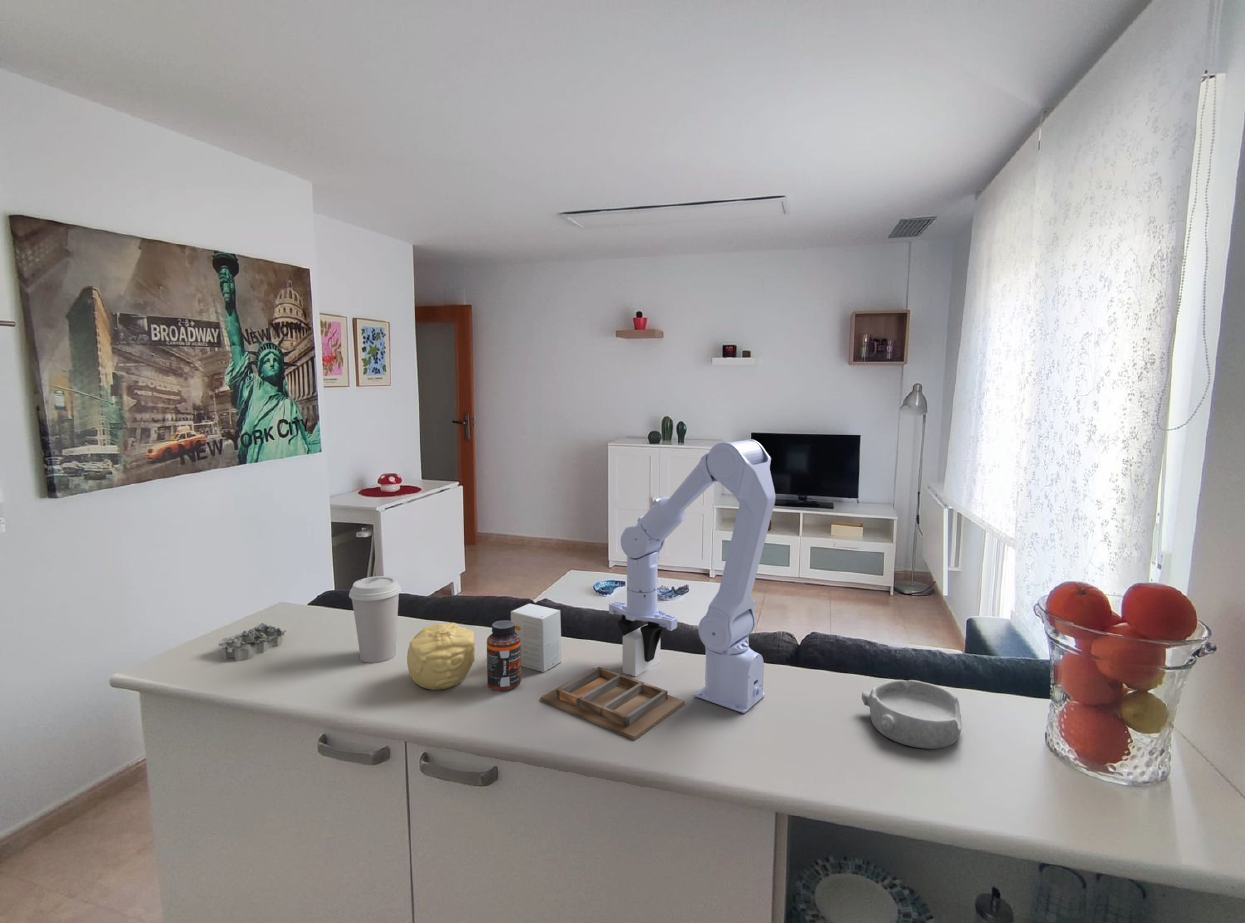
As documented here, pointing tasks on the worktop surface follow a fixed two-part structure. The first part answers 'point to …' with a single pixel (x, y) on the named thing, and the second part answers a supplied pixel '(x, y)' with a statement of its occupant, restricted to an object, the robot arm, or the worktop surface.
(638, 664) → the blanking panel
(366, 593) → the coffee cup
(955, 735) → the dish
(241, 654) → the egg carton
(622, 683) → the slot rack
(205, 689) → the worktop surface
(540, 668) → the small box
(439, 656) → the sculpture
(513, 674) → the supplement bottle
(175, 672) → the worktop surface
